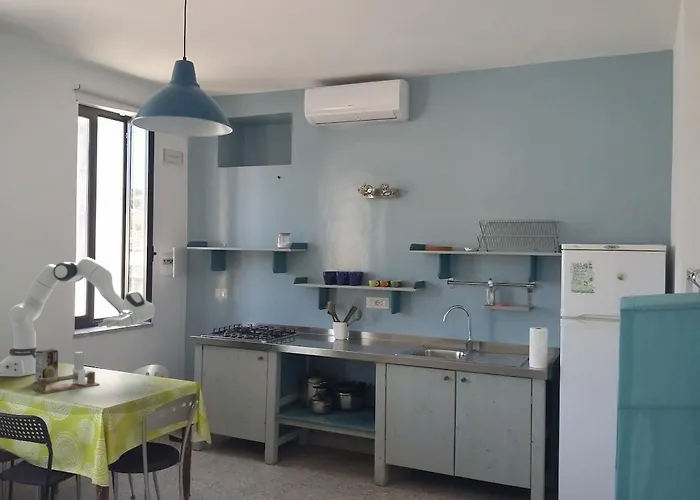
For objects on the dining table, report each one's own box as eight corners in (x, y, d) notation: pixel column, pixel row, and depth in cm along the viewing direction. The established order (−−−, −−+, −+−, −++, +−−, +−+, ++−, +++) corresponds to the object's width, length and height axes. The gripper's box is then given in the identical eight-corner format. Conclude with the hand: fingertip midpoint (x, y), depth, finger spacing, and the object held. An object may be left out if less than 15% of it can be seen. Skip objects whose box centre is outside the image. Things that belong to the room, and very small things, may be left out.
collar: (78, 381, 330) (78, 351, 330) (84, 383, 326) (85, 352, 325) (72, 382, 328) (73, 351, 328) (79, 384, 323) (79, 353, 323)
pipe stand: (88, 381, 337) (88, 369, 337) (99, 385, 329) (99, 372, 329) (33, 390, 316) (33, 376, 316) (43, 394, 308) (44, 380, 308)
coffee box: (50, 378, 342) (51, 348, 342) (58, 380, 339) (58, 349, 338) (34, 381, 334) (35, 350, 334) (42, 383, 331) (42, 352, 331)
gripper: (116, 312, 352) (92, 319, 342) (134, 312, 338) (110, 320, 328) (119, 323, 353) (95, 330, 343) (137, 324, 339) (113, 332, 329)
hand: (102, 325), depth 335 cm, fingers open, 8 cm apart
